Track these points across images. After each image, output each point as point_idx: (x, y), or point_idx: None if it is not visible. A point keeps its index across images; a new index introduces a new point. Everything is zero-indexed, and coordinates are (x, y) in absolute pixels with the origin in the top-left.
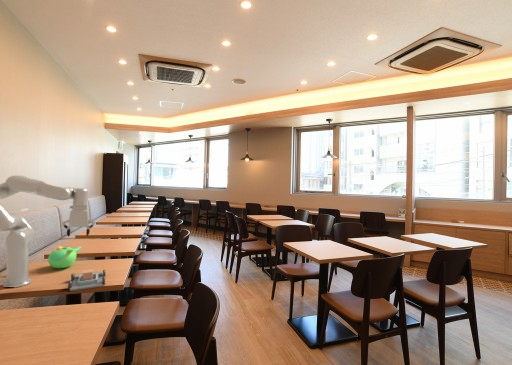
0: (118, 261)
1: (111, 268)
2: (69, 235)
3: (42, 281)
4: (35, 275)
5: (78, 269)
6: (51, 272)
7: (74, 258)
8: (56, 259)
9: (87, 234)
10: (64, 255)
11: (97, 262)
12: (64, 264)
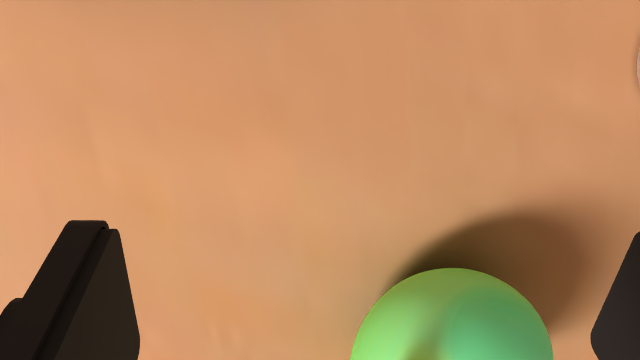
0: None
1: (37, 171)
2: (628, 276)
3: (565, 25)
4: (591, 195)
5: (314, 231)
6: (493, 225)
7: (359, 343)
8: (498, 304)
9: (58, 246)
10: (447, 337)
11: (197, 345)
12: (423, 275)
